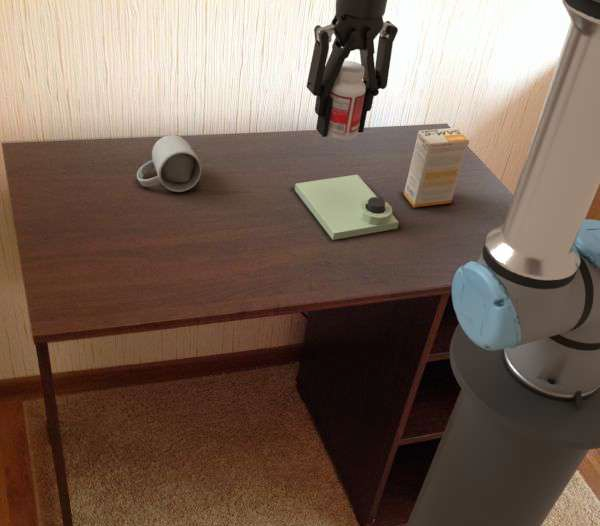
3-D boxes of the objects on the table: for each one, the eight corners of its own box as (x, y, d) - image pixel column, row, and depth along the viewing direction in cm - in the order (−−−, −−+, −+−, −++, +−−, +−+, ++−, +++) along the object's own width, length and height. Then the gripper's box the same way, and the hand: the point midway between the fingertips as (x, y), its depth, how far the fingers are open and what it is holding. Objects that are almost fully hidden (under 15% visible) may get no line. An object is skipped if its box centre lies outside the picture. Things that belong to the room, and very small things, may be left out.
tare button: (386, 212, 132) (388, 205, 131) (371, 215, 131) (373, 207, 130) (378, 203, 134) (380, 196, 133) (363, 206, 133) (365, 198, 132)
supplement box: (440, 190, 145) (458, 126, 135) (451, 204, 142) (471, 139, 132) (401, 194, 142) (417, 129, 133) (412, 208, 139) (430, 143, 130)
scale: (397, 228, 134) (400, 214, 132) (332, 240, 129) (335, 225, 127) (356, 181, 143) (358, 166, 141) (294, 190, 139) (296, 175, 136)
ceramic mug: (189, 166, 140) (188, 127, 134) (202, 190, 135) (202, 150, 129) (132, 172, 136) (129, 133, 131) (143, 197, 132) (141, 157, 126)
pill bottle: (350, 122, 130) (361, 58, 122) (362, 140, 126) (375, 75, 118) (316, 123, 128) (326, 58, 120) (328, 142, 125) (338, 76, 117)
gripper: (407, -28, 116) (378, 114, 133) (294, -24, 109) (279, 125, 126) (432, -9, 112) (399, 135, 129) (316, -4, 105) (297, 148, 122)
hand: (339, 130), depth 127 cm, fingers closed on pill bottle, 6 cm apart
